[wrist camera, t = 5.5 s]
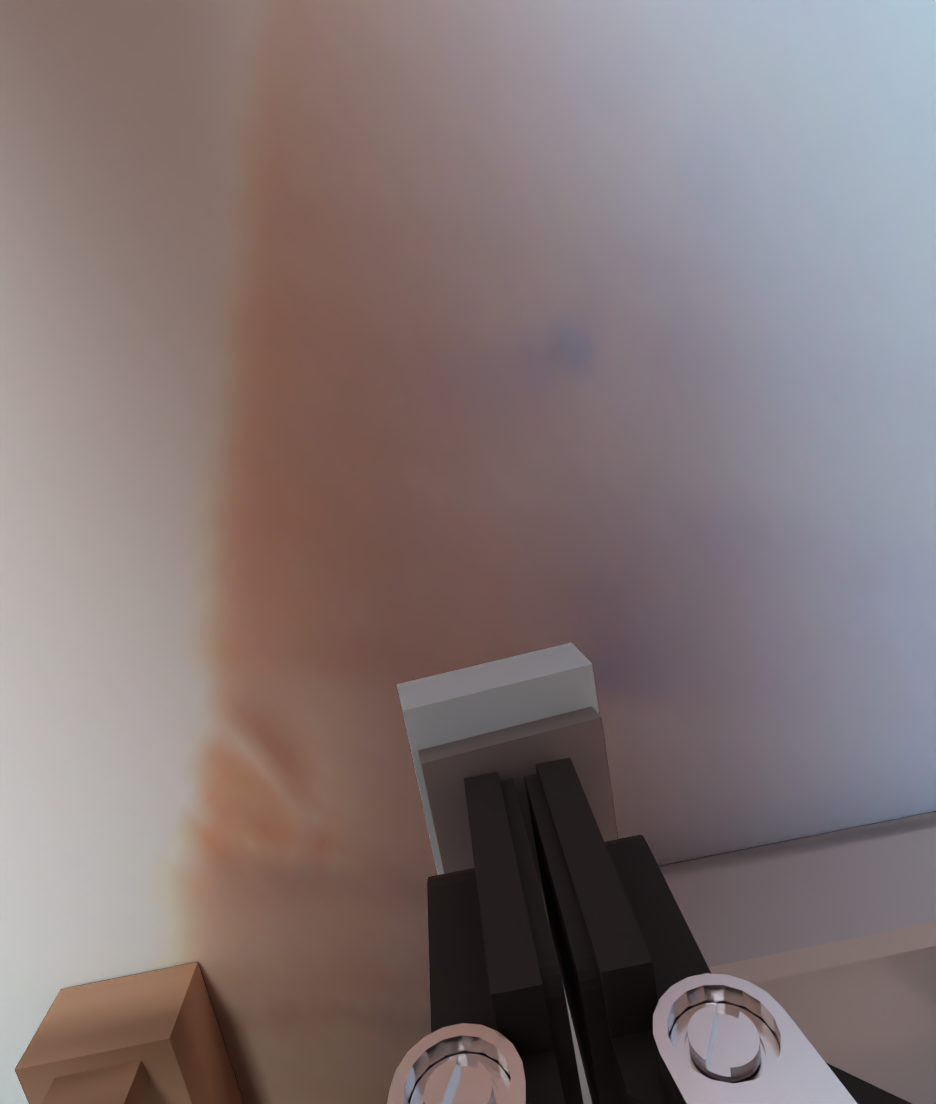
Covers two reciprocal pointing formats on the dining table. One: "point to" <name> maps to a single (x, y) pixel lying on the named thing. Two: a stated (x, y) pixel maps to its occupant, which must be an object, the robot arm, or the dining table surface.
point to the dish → (832, 941)
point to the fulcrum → (131, 1044)
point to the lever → (505, 745)
